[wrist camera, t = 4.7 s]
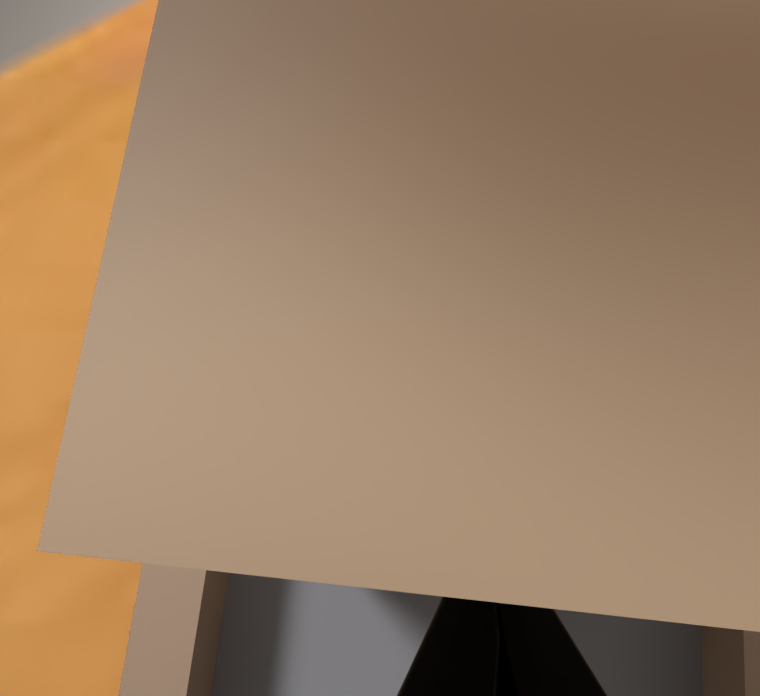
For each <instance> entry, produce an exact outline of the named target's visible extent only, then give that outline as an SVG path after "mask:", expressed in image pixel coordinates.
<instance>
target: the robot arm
mask: <svg viewBox="0 0 760 696" xmlns="http://www.w3.org/2000/svg"><path fill="white" fill-rule="evenodd" d="M397 696H607V694H606V693H605V691H604V689H603V688H602V686H601V684H600V683H599V681H598V680H597V678H596V676H595V675H594V673H593V672H592V670H591V668H590V667H589V665H588V663H587V662H586V660H585V659H584V657H583V655H582V654H581V652H580V650H579V649H578V647H577V646H576V644H575V642H574V641H573V639H572V638H571V636H570V634H569V633H568V631H567V629H566V628H565V626H564V625H563V623H562V621H561V620H560V618H559V617H558V615H557V613H556V612H555V610H554V609H550V608H541V607H532V606H523V605H514V604H505V603H496V602H487V601H478V600H469V599H460V598H451V597H442V599H441V601H440V603H439V606H438V608H437V610H436V612H435V614H434V616H433V619H432V621H431V623H430V625H429V627H428V629H427V632H426V634H425V636H424V638H423V640H422V642H421V645H420V647H419V649H418V651H417V653H416V655H415V658H414V660H413V662H412V664H411V666H410V668H409V671H408V673H407V675H406V677H405V679H404V681H403V684H402V686H401V688H400V690H399V692H398V695H397Z"/></svg>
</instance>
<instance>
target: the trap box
mask: <svg viewBox="0 0 760 696" xmlns="http://www.w3.org/2000/svg"><path fill="white" fill-rule="evenodd" d="M441 599H442V596H433V595H424V594H415V593H407V592H398V591H389V590H380V589H371V588H362V587H353V586H344V585H335V584H326V583H317V582H308V581H299V580H290V579H281V578H272V577H263V576H254V575H245V574H237V573H228V572H219V571H210V570H201V569H192V568H183V567H174V566H165V565H156V564H147V563H143V564H142V569H141V575H140V580H139V586H138V591H137V597H136V602H135V608H134V613H133V618H132V624H131V629H130V635H129V640H128V646H127V651H126V657H125V662H124V668H123V673H122V679H121V684H120V690H119V695H118V696H397V695H398V692H399V690H400V688H401V686H402V684H403V681H404V679H405V677H406V675H407V673H408V671H409V668H410V666H411V664H412V662H413V660H414V658H415V655H416V653H417V651H418V649H419V647H420V645H421V642H422V640H423V638H424V636H425V634H426V632H427V629H428V627H429V625H430V623H431V621H432V619H433V616H434V614H435V612H436V610H437V608H438V606H439V603H440V601H441ZM554 610H555V612H556V613H557V615H558V617H559V618H560V620H561V621H562V623H563V625H564V626H565V628H566V629H567V631H568V633H569V634H570V636H571V638H572V639H573V641H574V642H575V644H576V646H577V647H578V649H579V650H580V652H581V654H582V655H583V657H584V659H585V660H586V662H587V663H588V665H589V667H590V668H591V670H592V672H593V673H594V675H595V676H596V678H597V680H598V681H599V683H600V684H601V686H602V688H603V689H604V691H605V693H606V694H607V696H760V632H756V631H747V630H738V629H729V628H720V627H711V626H702V625H693V624H684V623H675V622H666V621H657V620H648V619H639V618H630V617H621V616H612V615H603V614H594V613H586V612H577V611H568V610H559V609H554Z"/></svg>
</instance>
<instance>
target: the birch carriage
mask: <svg viewBox="0 0 760 696" xmlns="http://www.w3.org/2000/svg"><path fill="white" fill-rule="evenodd" d="M37 551H40V552H49V553H58V554H67V555H75V556H84V557H93V558H102V559H111V560H120V561H129V562H138V563H147V564H156V565H165V566H174V567H183V568H192V569H201V570H210V571H219V572H228V573H237V574H245V575H254V576H263V577H272V578H281V579H290V580H299V581H308V582H317V583H326V584H335V585H344V586H353V587H362V588H371V589H380V590H389V591H398V592H407V593H415V594H424V595H433V596H442V597H451V598H460V599H469V600H478V601H487V602H496V603H505V604H514V605H523V606H532V607H541V608H550V609H559V610H568V611H577V612H586V613H594V614H603V615H612V616H621V617H630V618H639V619H648V620H657V621H666V622H675V623H684V624H693V625H702V626H711V627H720V628H729V629H738V630H747V631H756V632H760V0H159V1H158V6H157V10H156V15H155V19H154V24H153V28H152V33H151V38H150V42H149V47H148V51H147V56H146V60H145V65H144V69H143V74H142V78H141V83H140V87H139V92H138V96H137V101H136V105H135V110H134V115H133V119H132V124H131V128H130V133H129V137H128V142H127V146H126V151H125V155H124V160H123V164H122V169H121V173H120V178H119V182H118V187H117V192H116V196H115V201H114V205H113V210H112V214H111V219H110V223H109V228H108V232H107V237H106V241H105V246H104V250H103V255H102V259H101V264H100V269H99V273H98V278H97V282H96V287H95V291H94V296H93V300H92V305H91V309H90V314H89V318H88V323H87V327H86V332H85V336H84V341H83V346H82V350H81V355H80V359H79V364H78V368H77V373H76V377H75V382H74V386H73V391H72V395H71V400H70V404H69V409H68V413H67V418H66V422H65V427H64V432H63V436H62V441H61V445H60V450H59V454H58V459H57V463H56V468H55V472H54V477H53V481H52V486H51V490H50V495H49V499H48V504H47V509H46V513H45V518H44V522H43V527H42V531H41V536H40V540H39V545H38V549H37Z"/></svg>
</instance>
